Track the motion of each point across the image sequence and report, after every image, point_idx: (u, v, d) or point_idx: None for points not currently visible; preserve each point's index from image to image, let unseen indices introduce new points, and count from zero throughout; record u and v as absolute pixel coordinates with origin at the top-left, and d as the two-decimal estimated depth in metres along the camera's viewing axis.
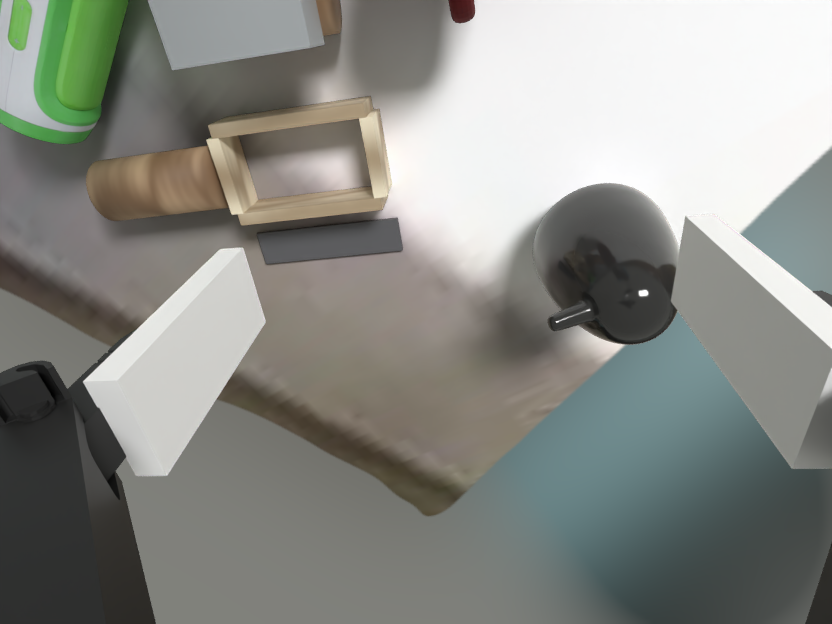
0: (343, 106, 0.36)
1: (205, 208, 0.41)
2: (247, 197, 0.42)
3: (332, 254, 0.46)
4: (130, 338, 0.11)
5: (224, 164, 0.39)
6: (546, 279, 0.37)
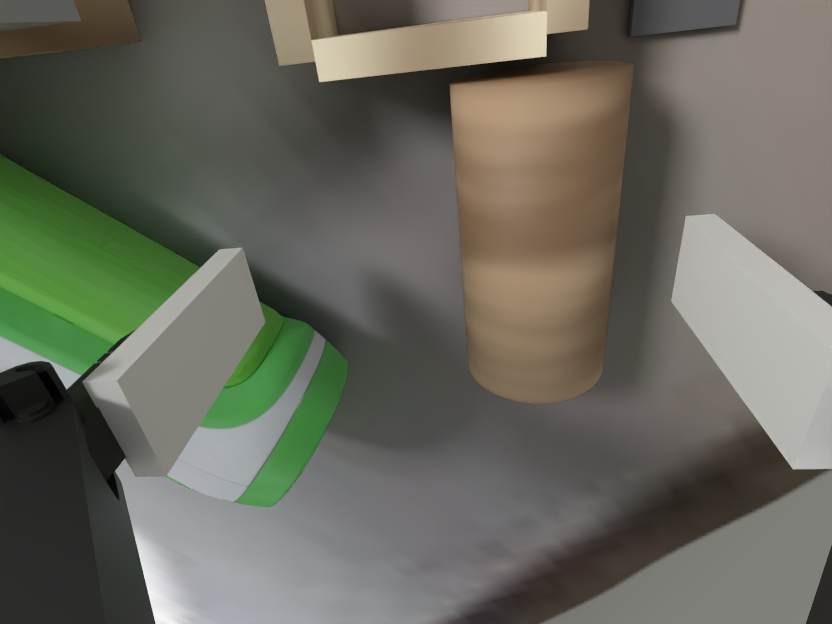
0: None
1: None
2: None
3: None
4: (129, 338, 0.11)
5: (387, 38, 0.13)
6: None
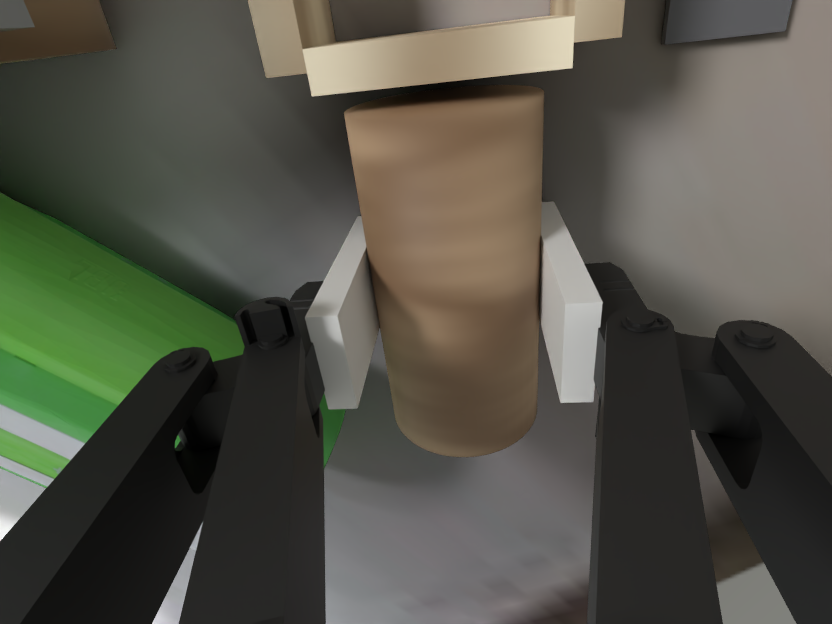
0: None
1: (528, 163, 0.12)
2: (525, 20, 0.12)
3: None
4: (324, 285, 0.12)
5: (389, 47, 0.11)
6: None
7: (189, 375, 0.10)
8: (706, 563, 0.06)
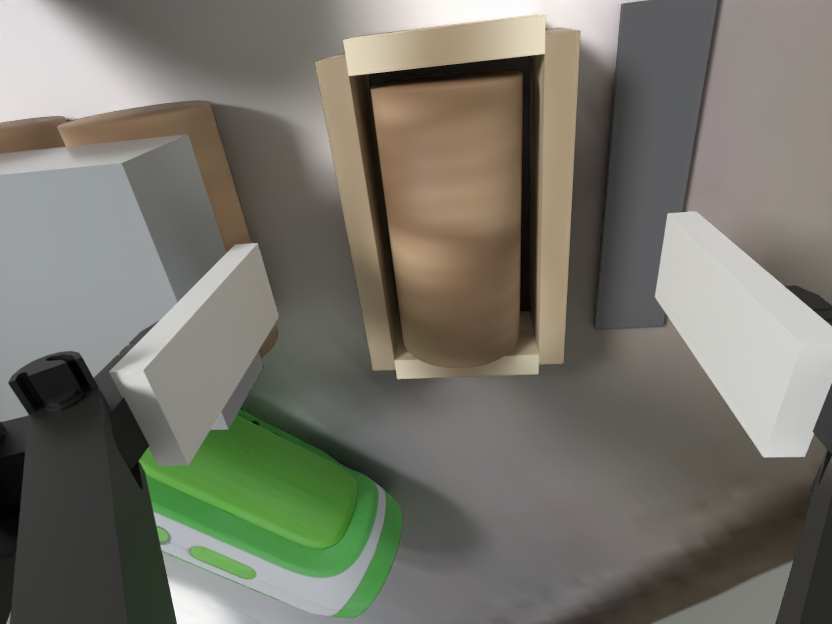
0: (325, 111, 0.16)
1: (509, 127, 0.16)
2: None
3: (678, 187, 0.20)
4: (152, 330, 0.11)
5: None
6: None
7: None
8: None
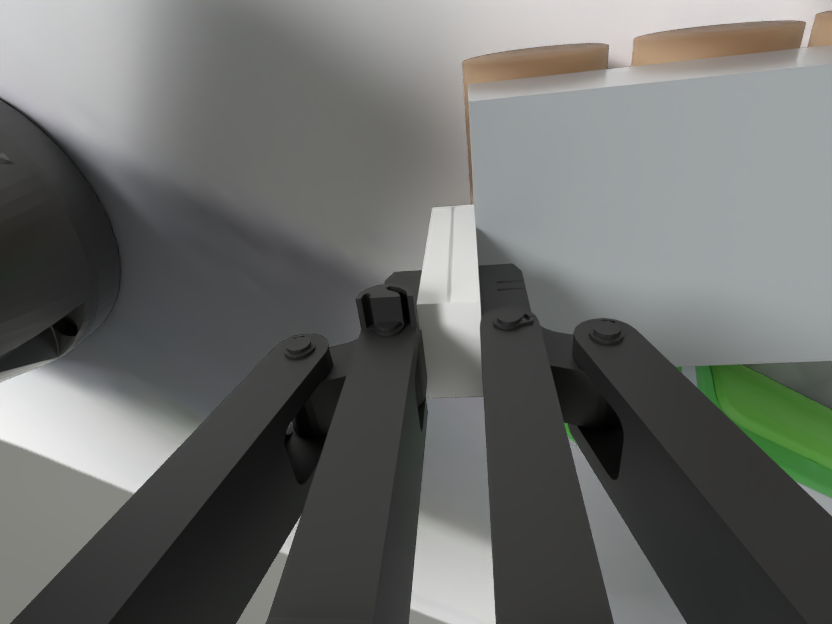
0: None
1: None
2: None
3: None
4: (424, 273, 0.12)
5: None
6: None
7: (306, 363, 0.10)
8: (587, 539, 0.06)
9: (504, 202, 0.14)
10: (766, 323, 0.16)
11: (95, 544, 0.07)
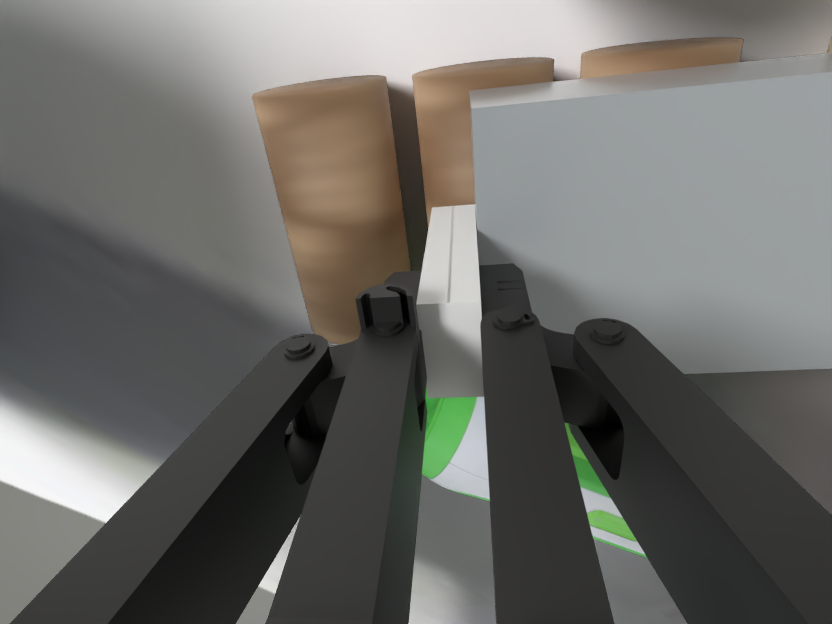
0: None
1: None
2: None
3: None
4: (424, 273, 0.12)
5: None
6: None
7: (306, 364, 0.10)
8: (588, 539, 0.06)
9: (506, 210, 0.14)
10: (768, 331, 0.16)
11: (94, 545, 0.07)
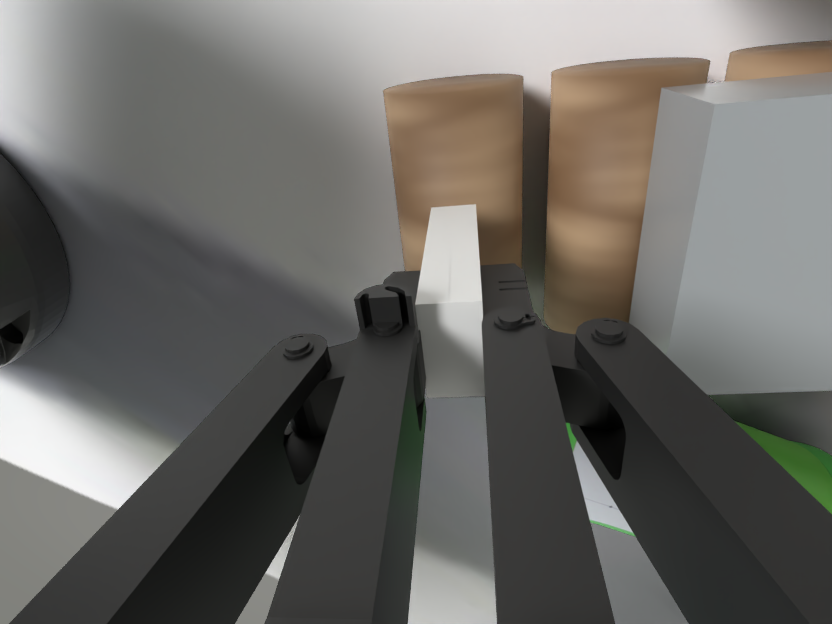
0: None
1: None
2: None
3: None
4: (423, 273, 0.12)
5: None
6: None
7: (305, 364, 0.10)
8: (588, 539, 0.06)
9: (727, 214, 0.13)
10: None
11: (93, 545, 0.07)
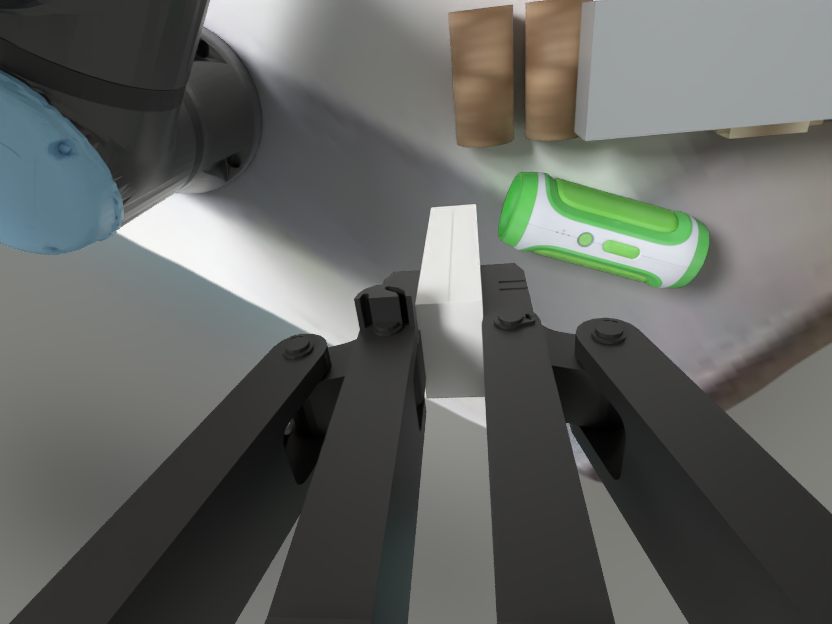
0: None
1: None
2: None
3: None
4: (423, 273, 0.12)
5: (756, 126, 0.41)
6: None
7: (305, 364, 0.10)
8: (588, 539, 0.06)
9: (605, 47, 0.34)
10: (712, 107, 0.36)
11: (93, 544, 0.07)
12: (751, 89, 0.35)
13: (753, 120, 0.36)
